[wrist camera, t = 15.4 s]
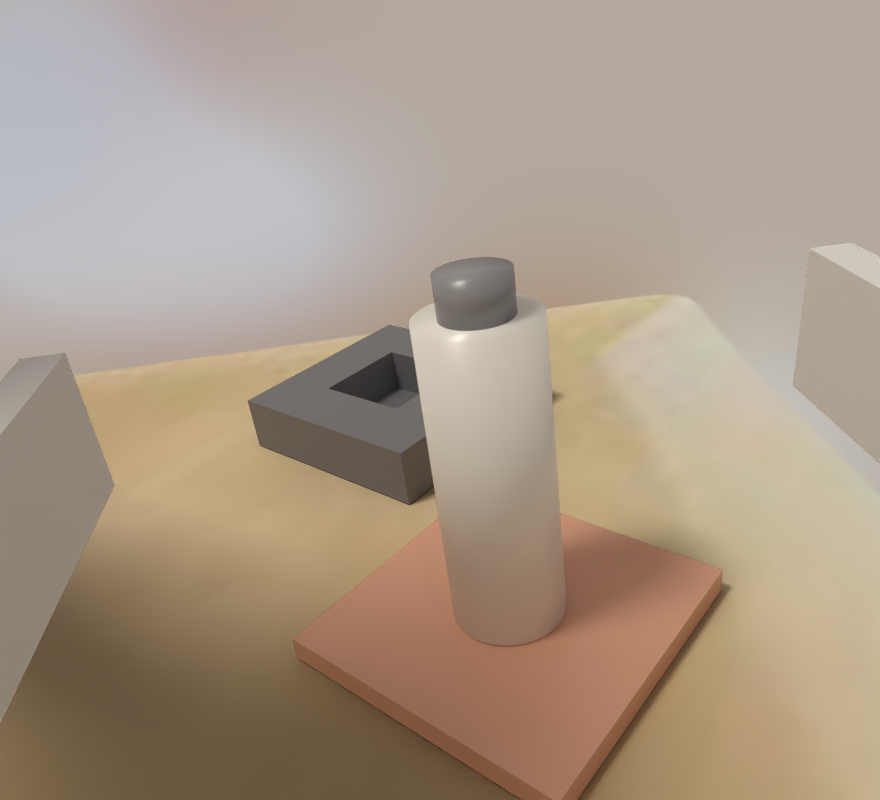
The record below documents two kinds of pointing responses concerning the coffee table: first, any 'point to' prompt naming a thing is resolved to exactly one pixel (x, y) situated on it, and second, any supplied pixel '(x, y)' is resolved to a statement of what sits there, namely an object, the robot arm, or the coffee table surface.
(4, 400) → the robot arm
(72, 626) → the coffee table surface
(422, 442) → the socket block
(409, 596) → the tile
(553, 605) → the plug
